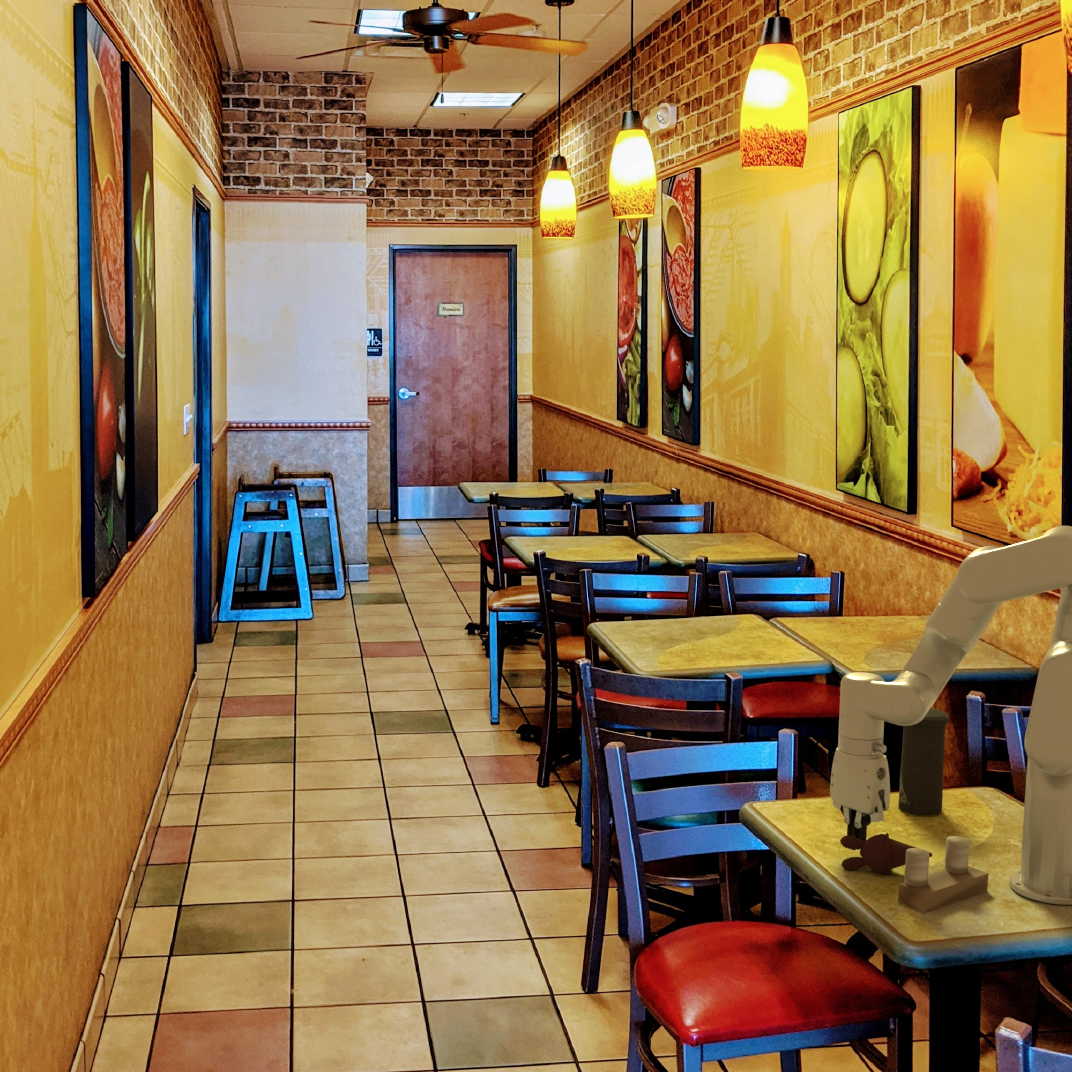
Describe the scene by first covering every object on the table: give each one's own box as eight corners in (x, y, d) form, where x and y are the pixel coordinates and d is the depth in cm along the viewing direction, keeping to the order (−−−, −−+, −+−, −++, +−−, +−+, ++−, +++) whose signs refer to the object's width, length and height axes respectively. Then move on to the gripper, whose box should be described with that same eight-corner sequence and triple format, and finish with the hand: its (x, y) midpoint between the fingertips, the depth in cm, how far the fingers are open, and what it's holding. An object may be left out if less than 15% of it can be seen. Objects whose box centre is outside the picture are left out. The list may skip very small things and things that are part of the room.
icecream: (930, 831, 223) (840, 830, 227) (931, 835, 216) (839, 833, 220) (932, 873, 222) (842, 871, 226) (934, 878, 215) (840, 876, 219)
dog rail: (987, 890, 213) (990, 844, 212) (923, 912, 204) (925, 863, 203) (957, 879, 218) (960, 833, 217) (893, 900, 209) (896, 852, 208)
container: (919, 799, 259) (924, 701, 256) (953, 813, 251) (959, 712, 249) (886, 806, 255) (891, 706, 252) (921, 820, 247) (926, 717, 244)
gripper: (909, 751, 221) (904, 855, 223) (843, 731, 233) (839, 830, 235) (879, 758, 217) (874, 864, 219) (813, 737, 229) (809, 838, 231)
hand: (856, 846), depth 227 cm, fingers closed
